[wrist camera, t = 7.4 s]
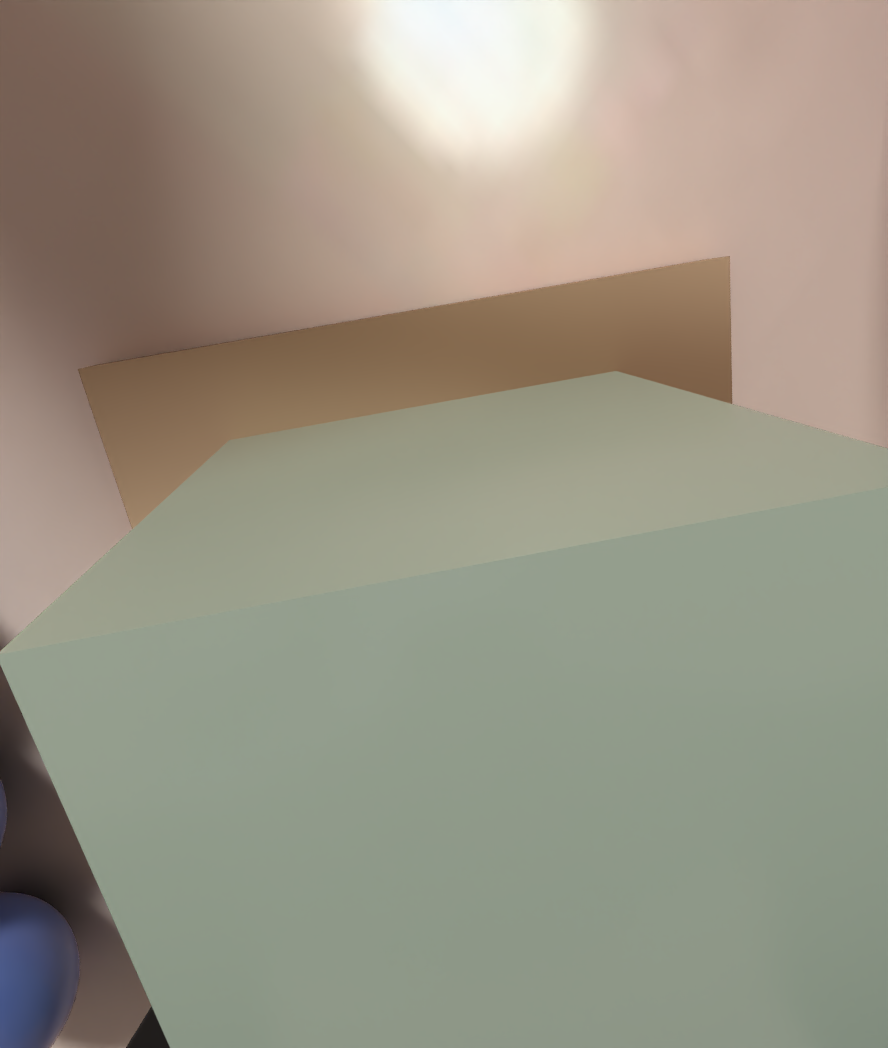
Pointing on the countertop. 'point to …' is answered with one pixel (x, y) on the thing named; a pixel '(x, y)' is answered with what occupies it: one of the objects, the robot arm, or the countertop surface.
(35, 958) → the marble
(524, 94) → the countertop surface
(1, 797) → the marble
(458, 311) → the cork trivet
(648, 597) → the sage cover
